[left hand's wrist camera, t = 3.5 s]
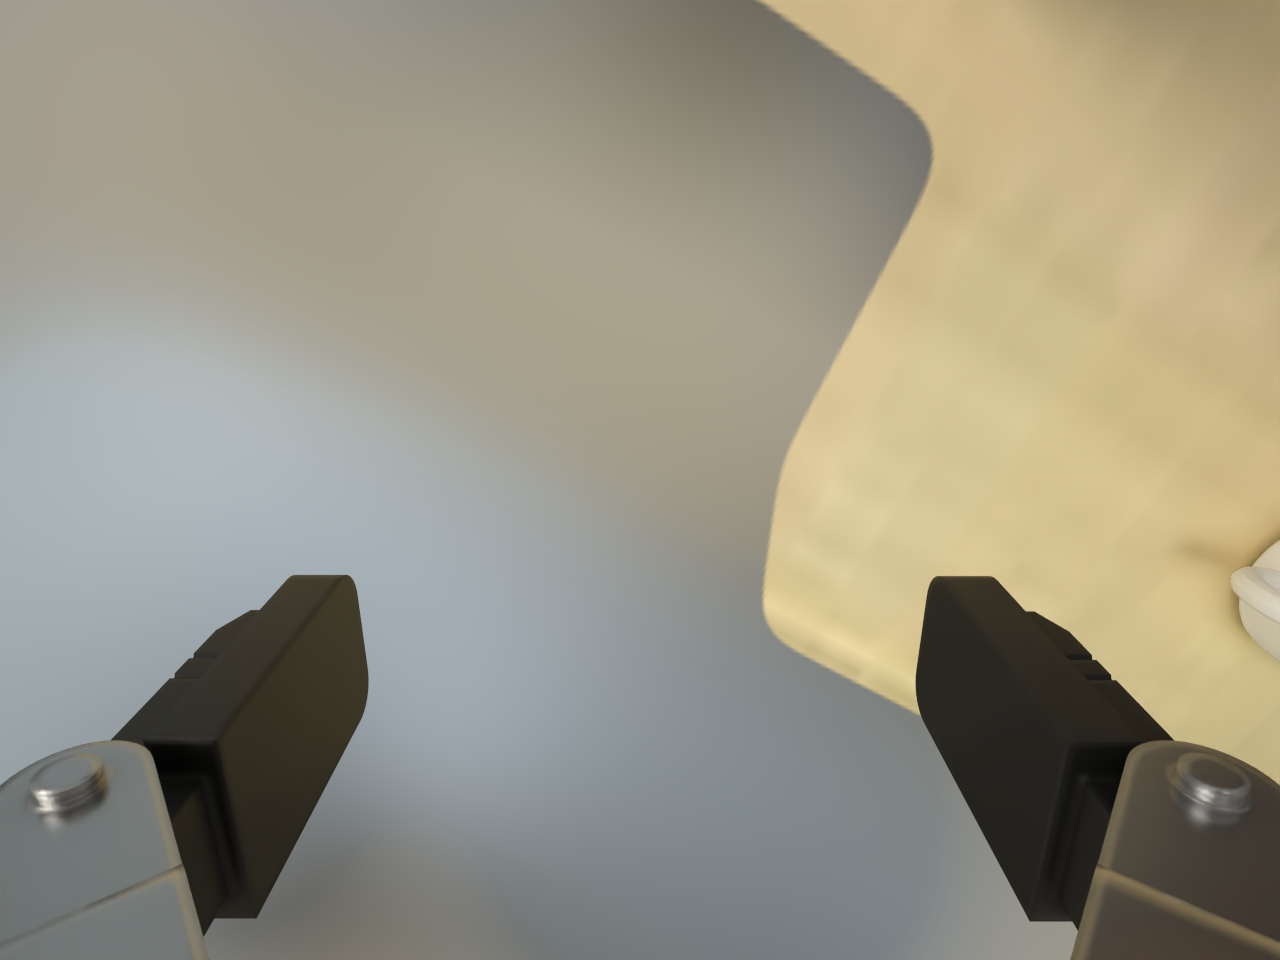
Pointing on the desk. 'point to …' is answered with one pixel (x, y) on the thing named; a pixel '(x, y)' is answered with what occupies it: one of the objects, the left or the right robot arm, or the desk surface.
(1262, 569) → the mug
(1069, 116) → the desk surface
